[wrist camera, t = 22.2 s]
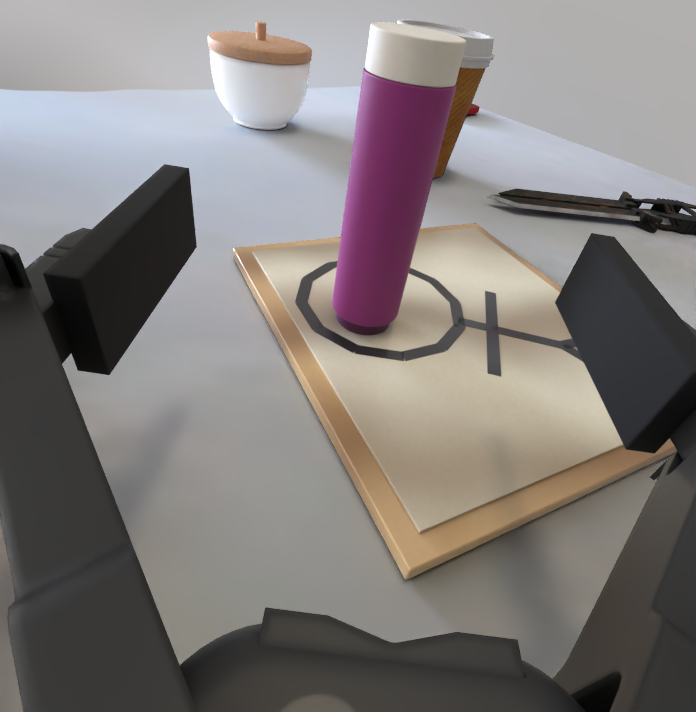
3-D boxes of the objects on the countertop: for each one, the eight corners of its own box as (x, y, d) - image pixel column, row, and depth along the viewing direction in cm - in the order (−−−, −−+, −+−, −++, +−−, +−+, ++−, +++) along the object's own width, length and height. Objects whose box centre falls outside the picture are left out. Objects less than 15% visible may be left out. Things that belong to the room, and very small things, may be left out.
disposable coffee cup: (376, 145, 51) (398, 15, 44) (458, 162, 51) (495, 33, 43) (363, 173, 44) (386, 23, 36) (458, 192, 44) (503, 45, 36)
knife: (488, 210, 42) (493, 196, 41) (475, 184, 46) (479, 170, 45) (741, 245, 44) (752, 232, 43) (703, 216, 48) (712, 203, 47)
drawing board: (233, 258, 29) (232, 244, 29) (472, 231, 38) (476, 220, 37) (404, 581, 16) (411, 569, 15) (726, 428, 24) (740, 415, 23)
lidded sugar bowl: (191, 114, 51) (183, 10, 45) (260, 104, 58) (261, 13, 52) (260, 143, 47) (260, 33, 41) (325, 128, 54) (334, 32, 48)
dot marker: (320, 304, 25) (352, 17, 17) (376, 295, 27) (432, 27, 18) (347, 344, 23) (402, 36, 14) (407, 332, 24) (488, 45, 16)
